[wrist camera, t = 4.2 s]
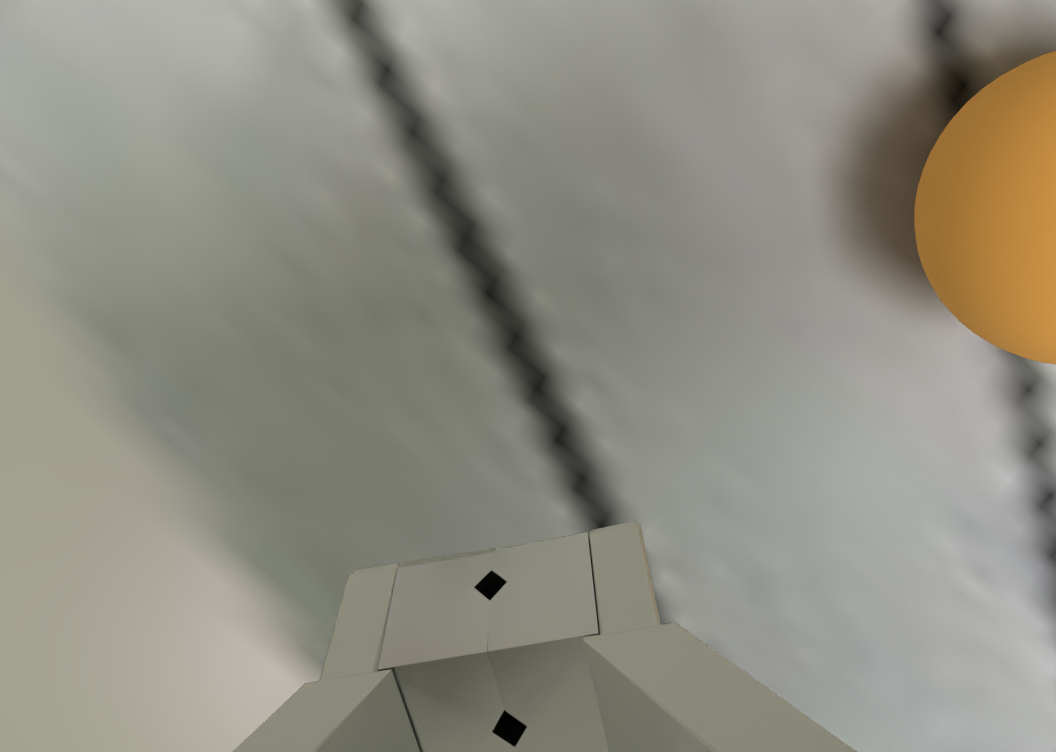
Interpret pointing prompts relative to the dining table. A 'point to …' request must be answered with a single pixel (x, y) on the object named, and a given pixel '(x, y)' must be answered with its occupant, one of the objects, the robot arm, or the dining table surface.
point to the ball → (996, 212)
